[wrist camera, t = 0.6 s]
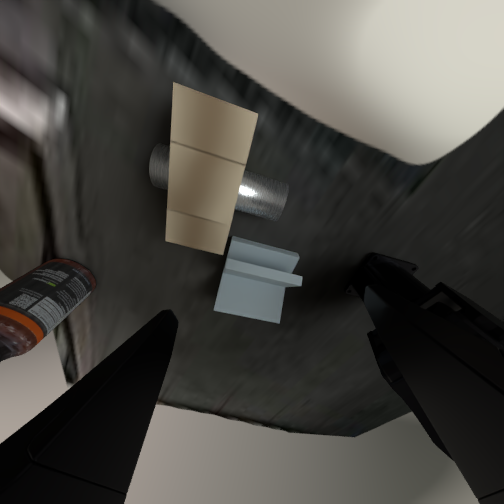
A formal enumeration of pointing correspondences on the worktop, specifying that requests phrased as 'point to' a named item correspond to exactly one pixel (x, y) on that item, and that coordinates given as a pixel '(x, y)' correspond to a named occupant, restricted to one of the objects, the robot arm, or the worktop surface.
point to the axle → (250, 193)
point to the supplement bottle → (40, 303)
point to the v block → (256, 280)
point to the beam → (205, 167)
